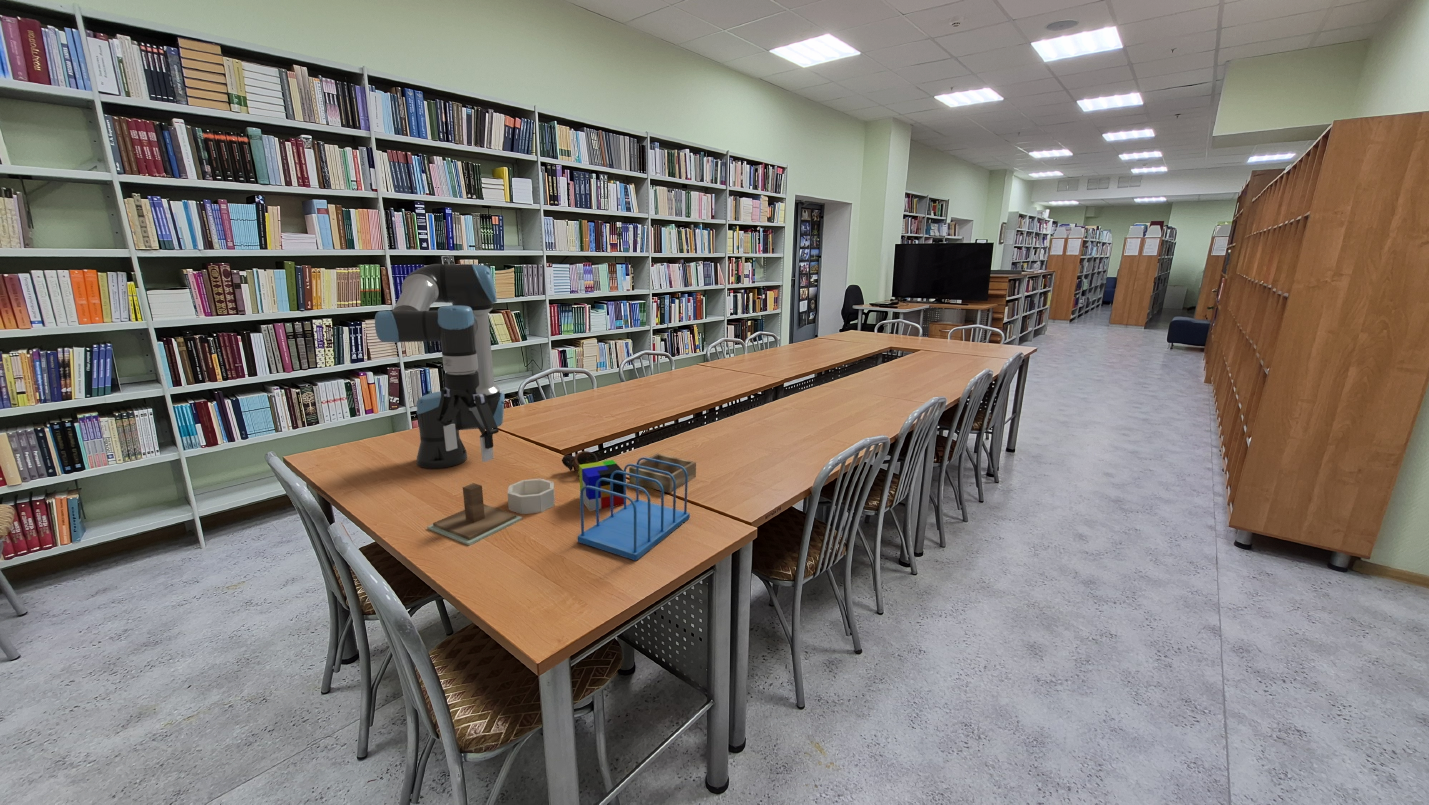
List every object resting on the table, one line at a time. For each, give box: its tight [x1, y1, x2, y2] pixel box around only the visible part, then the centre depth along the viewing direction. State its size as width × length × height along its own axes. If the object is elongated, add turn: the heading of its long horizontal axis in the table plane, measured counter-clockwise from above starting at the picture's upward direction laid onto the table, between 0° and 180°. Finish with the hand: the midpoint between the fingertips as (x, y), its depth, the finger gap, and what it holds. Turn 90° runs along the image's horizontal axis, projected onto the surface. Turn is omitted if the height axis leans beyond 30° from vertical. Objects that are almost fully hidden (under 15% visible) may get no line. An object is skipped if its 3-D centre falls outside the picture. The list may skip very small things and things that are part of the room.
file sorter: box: [577, 456, 691, 561], centre depth 136 cm, size 25×17×15 cm
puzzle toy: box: [578, 459, 624, 512], centre depth 153 cm, size 10×10×10 cm
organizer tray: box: [628, 453, 697, 494], centre depth 170 cm, size 15×15×5 cm
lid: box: [432, 482, 517, 540], centre depth 138 cm, size 14×14×10 cm
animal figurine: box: [561, 450, 599, 479], centre depth 173 cm, size 12×10×8 cm
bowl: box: [507, 478, 556, 515], centre depth 151 cm, size 12×12×5 cm
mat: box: [426, 514, 523, 546], centre depth 139 cm, size 16×16×1 cm
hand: (469, 454), depth 135 cm, fingers open, 13 cm apart
